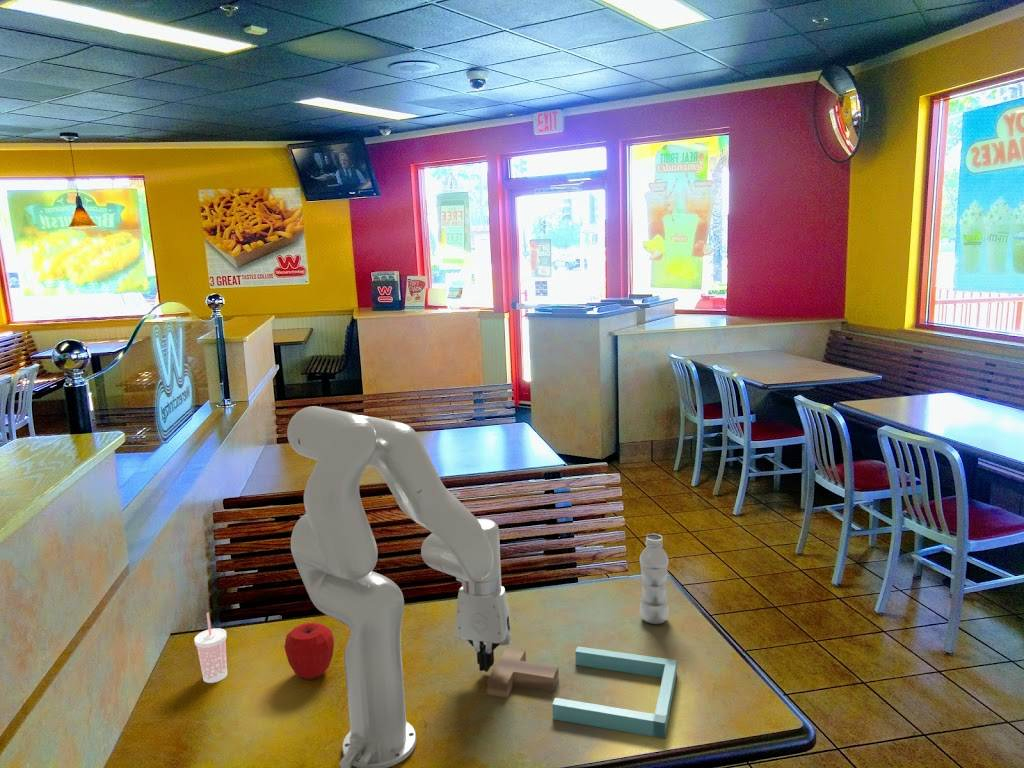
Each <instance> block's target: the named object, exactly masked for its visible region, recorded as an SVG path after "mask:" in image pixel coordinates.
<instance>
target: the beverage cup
mask: <svg viewBox="0 0 1024 768" xmlns="http://www.w3.org/2000/svg"><path fill="white" fill-rule="evenodd" d="M206 621H207V629H206V630H203V631H201V632H198V634H197V635H195V637H194V638H193V639H194V645H195V646H196V650H197V653H198V654H197V655H198V660H199V665H200V669H201V674H202V675H201V676H202V679H203V682H205V683H206V684H207V683H208V684H213V683H214V684H215V683H218V682H220V681H222V680H224V679H225V678H226V677H227V676H228V662H227V642H226V639H227V638H228V636H227V635H228V634H227V630H225V629H224V628H219V627H218V628H212V627H211V619H210V612H206Z"/></svg>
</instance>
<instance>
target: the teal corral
mask: <svg viewBox="0 0 1024 768" xmlns="http://www.w3.org/2000/svg"><path fill="white" fill-rule="evenodd" d="M574 653H575V665H576V666H579V667H589V668H592V669H593V668H595V669H601V670H608V671H614V672H619V673H620V672H621V673H628V674H633V675H641V676H649V677H654V678H661V683H660V686H659V687H660V688H659V693H658V696H657V701H656V705H655V711H654V713H650V712H644V711H638V710H632V709H627V708H621V707H620V708H619V707H614V706H608V705H601V704H596V703H589V702H584V701H578V700H572V699H566V698H561V697H560V698H559V697H555V698H554V699H553V701H552V704H551V705H552V720H557V721H563V722H567V723H568V722H569V723H572V724H573V723H574V724H580V725H583V726H590V727H597V728H602V729H608V730H614V731H620V732H625V733H631V734H636V735H642V736H647V737H654V738H658V739H660V738H661V739H666V734H667V730H668V723H669V718H670V712H671V708H672V707H671V706H672V701H673V697H674V696H673V695H674V691H675V684H676V679H677V673H678V672H677V668H678V667H677V666H678V663H677V662H678V661H677V659H670V658H663V657H658V656H657V657H655V656H649V655H641V654H635V653H628V652H627V653H626V652H620V651H615V650H613V651H612V650H606V649H599V648H592V647H584V646H577V647H576V649H575V652H574Z"/></svg>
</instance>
